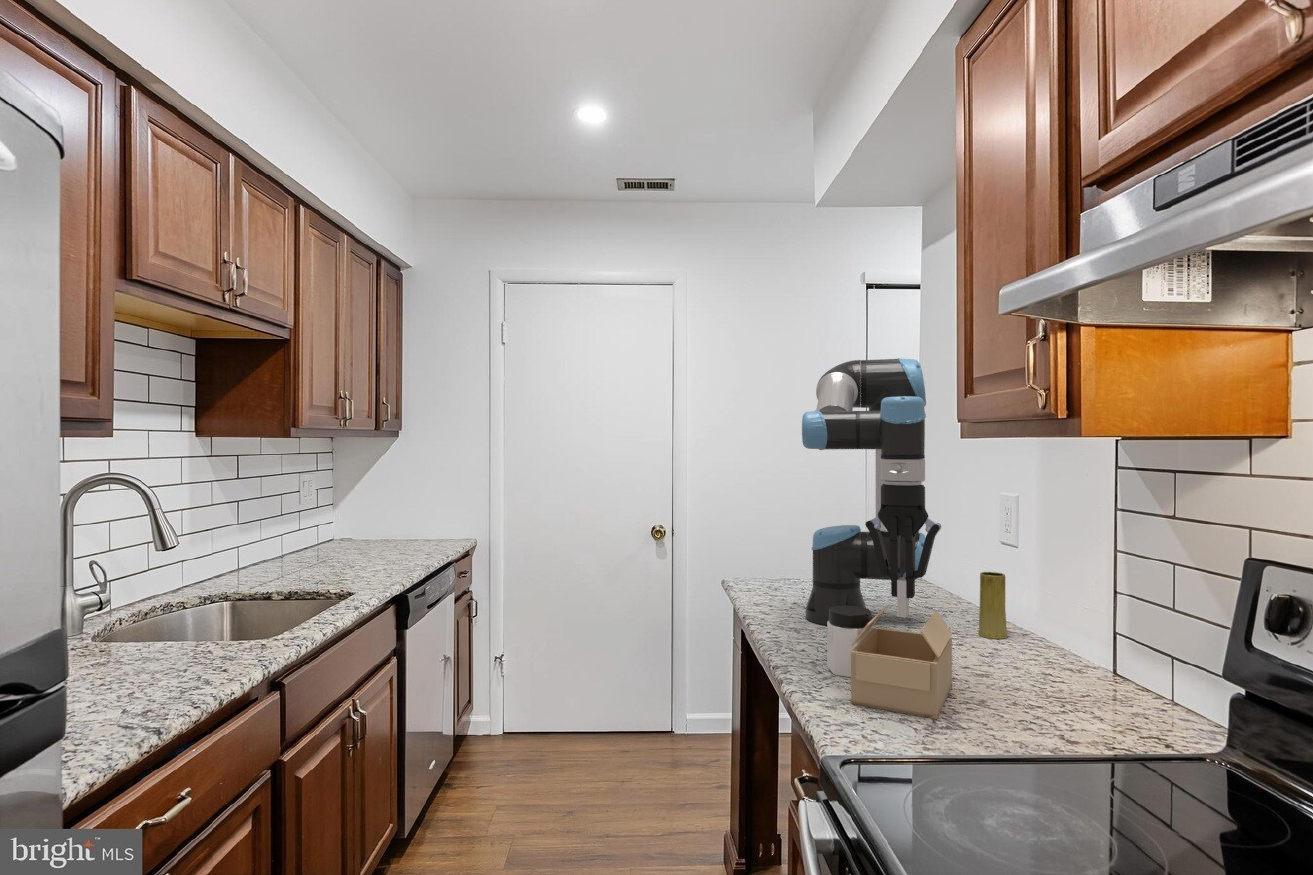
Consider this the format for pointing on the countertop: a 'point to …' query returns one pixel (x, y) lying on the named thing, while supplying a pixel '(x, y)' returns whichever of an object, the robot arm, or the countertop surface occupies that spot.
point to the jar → (844, 636)
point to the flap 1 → (869, 625)
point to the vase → (992, 606)
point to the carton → (900, 673)
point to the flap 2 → (936, 633)
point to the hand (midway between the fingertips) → (903, 615)
